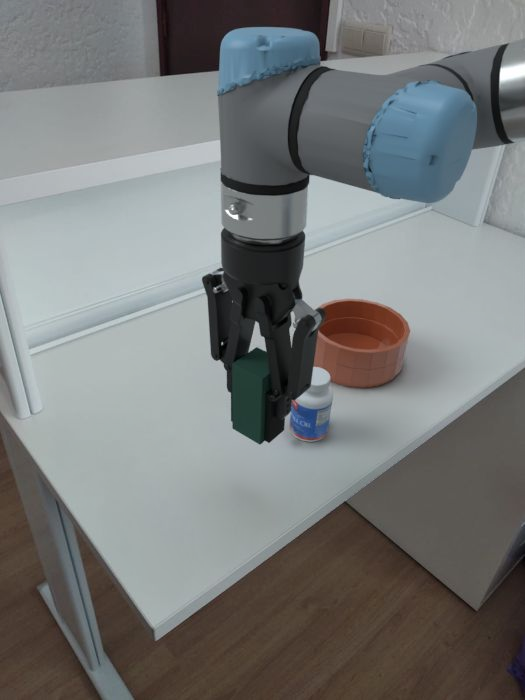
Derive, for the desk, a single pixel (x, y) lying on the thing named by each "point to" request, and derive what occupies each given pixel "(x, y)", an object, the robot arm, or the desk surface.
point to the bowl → (361, 342)
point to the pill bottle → (312, 408)
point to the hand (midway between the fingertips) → (257, 425)
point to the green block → (250, 394)
